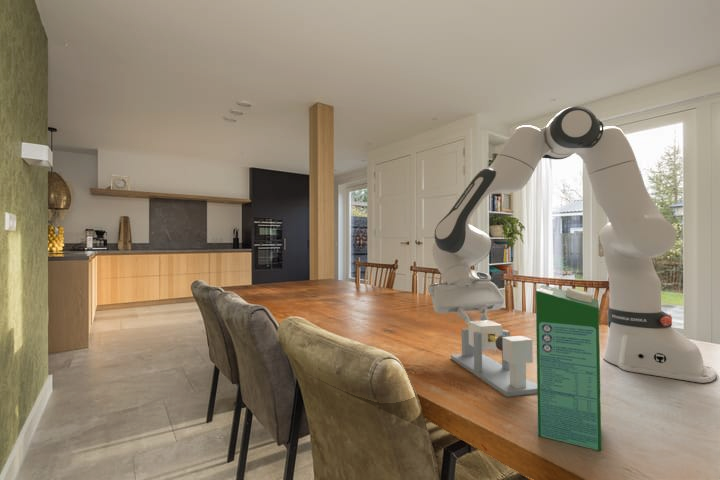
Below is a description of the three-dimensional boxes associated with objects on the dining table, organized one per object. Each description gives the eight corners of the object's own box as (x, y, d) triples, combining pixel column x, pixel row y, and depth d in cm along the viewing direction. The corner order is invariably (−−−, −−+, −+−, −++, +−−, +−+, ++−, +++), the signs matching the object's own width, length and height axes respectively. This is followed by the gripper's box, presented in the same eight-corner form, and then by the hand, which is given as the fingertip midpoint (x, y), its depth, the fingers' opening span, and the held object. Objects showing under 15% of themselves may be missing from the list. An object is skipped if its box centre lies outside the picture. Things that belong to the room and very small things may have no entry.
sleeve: (468, 344, 96) (468, 321, 96) (489, 342, 98) (488, 319, 98) (481, 350, 91) (480, 326, 91) (502, 348, 92) (502, 325, 92)
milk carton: (601, 451, 58) (598, 293, 58) (537, 436, 62) (535, 289, 62) (599, 426, 65) (597, 286, 65) (543, 414, 70) (541, 284, 70)
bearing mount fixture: (451, 358, 103) (450, 317, 103) (479, 355, 105) (479, 315, 105) (506, 396, 78) (505, 343, 78) (543, 392, 80) (542, 339, 80)
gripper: (429, 276, 103) (445, 318, 93) (494, 274, 107) (516, 313, 98) (423, 290, 107) (438, 332, 98) (486, 287, 112) (506, 326, 102)
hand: (477, 323), depth 98 cm, fingers open, 3 cm apart
